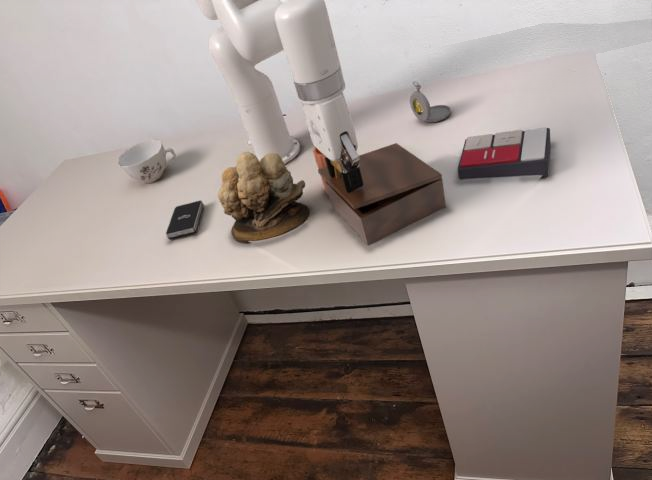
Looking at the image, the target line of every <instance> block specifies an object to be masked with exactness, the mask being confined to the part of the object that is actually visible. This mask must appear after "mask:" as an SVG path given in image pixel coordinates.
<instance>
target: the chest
mask: <svg viewBox="0 0 652 480" xmlns="http://www.w3.org/2000/svg"><path fill="white" fill-rule="evenodd" d="M325 184H326V187H327V191H328V193H327V194H328V198H329V200H330V203H331V206H332V208H333V209H334V211H335V212H336V213H337V214H338V215H339V216H340V217H341V218H342V219H343V220H344V222H346V224H347V225H348V226H349V227H350V228H351V229H352V230H353V231H354V233H356V235H357V236H358V237H359V238H360V239H361V240H362V241H363V242H364V243H365V244H366V245H367V246H371V245H373V244H375V243H377V242H379V241H381V240H383V239H385V238H387V237H388V236H392V234H394V233H397V232H399V231H401V230H403V229H405V228H407V227H410V226H411V225H413V224H415V223H417V222H419V221H421V220H423V219H425V218H428V217H429V216H431V215H433V214H435V213H437V212H439V211H441V210H443V209H445V208H446V207H447V204H446V203H447V202H446V198H445V189H444V181H443V177H442V178H441V179H438V180H436V181H433V182H430V183H427V184H424V185H422V186H419V187H416V188H413V189H410V190H407V191H405V192H402V193H399V194H396V195H393V196H391V197H388V198H385V199H382V200H379V201H377V202H374V203H371V204H368V205H365V206H362V207H360V208H357V209H353V208H352V207H351V206H350V205H349V204H348V203H347V201H346V200H345V199H344V198H343V197H342V196H341V195H340V194H339V193H338V192H337V191H336V190H335V189H334V188H333V187H332V186H331V185H330V184H329V183H328V182H327V181H325Z"/></svg>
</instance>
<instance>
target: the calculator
mask: <svg viewBox="0 0 652 480" xmlns="http://www.w3.org/2000/svg"><path fill="white" fill-rule="evenodd" d="M550 156H551V128H550V127H539V128H538V127H537V128H531V129H526V130H522V129H517V130H510V131H502V132H496V133H495V134H493V133H487V134H479V135H472V136H468V137H467V138H465V139H464V144H463V147H462V151H461V155H460V157H459V161H458V166H457V175H458V179H459V180H471V179H490V178H507V177H509V178H511V177H526V176H540V179H542V178H547V177H548V176H549V170H550V169H549V168H550V158H551V157H550Z"/></svg>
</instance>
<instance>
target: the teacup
mask: <svg viewBox="0 0 652 480" xmlns="http://www.w3.org/2000/svg"><path fill="white" fill-rule="evenodd" d="M167 153H170V154H172V158H171V159H170V160H169V161H168V162H167ZM175 160H176V153H175V150H174V149H173V148H172V147H166V148H164V145H163V143H162V142H161V141H159V140H158V139H148V140H144V141H141V142H138V143H137V144H135V145H133V146H132V147H130V148H128V149H126V150H125V151H124V152H123V153H122V154H120V156H119V157H118V160H117V161H118V162H117V163H118V166H119V167H120V168H121V170H122V171H123V172H124V173H126V175H128V176H129V177H130V178H132V179H134V180H135V181H138V182H141V183H144V184H152V183H154V182H156V181H158V180H159V179H161V178H162V176H163V174H164V172H165V169H166V168H167V167H169V166H170V165H171V164H174V162H175Z"/></svg>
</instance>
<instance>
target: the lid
mask: <svg viewBox="0 0 652 480" xmlns="http://www.w3.org/2000/svg"><path fill="white" fill-rule="evenodd" d="M358 156H359V158H360V160H359V166H360V167H359V168H360V172H361V176H362V180H363V186H362V187H360V188H358V189H356V190H354V191H352V192H350V193H347V192H346V190H345V186H344V183H343V179H342V176H341V174H340V172H343V171H342V169H341V166H340V164H339V162H338V159H337V161H332V160H330V163H331V164H332V165H333V166H334V169H335V176H334V177H331V176H330V175H329V171H328V168H327V167H324V168H321V169H318V168H317V173H318V174H319V176H320V175H321V176H322V177H323V178H324V179H325V180H326V181H327V182H328V183H329V184H330V185H331V186H332V187H333V188H334V189H335V190H336V191H337V192H338V193H339V194H340V195H341V196H342V197H343V198H344V199H345V200H346V201H347V203H348V204H349V205H350V206H351V207H352V208H353V209H357V208H360V207H362V206H365V205H368V204H371V203H374V202H377V201H379V200H382V199H385V198H388V197H391V196H393V195H396V194H399V193H402V192H405V191H407V190H410V189H413V188H416V187H419V186H422V185H424V184H427V183H430V182H433V181H436V180H438V179H441V178H442V179H443V174H442V173H440V172H439V171H438V170H436V169H435V168H433V167H432V166H431V165H429V164H427V163H426V162H425V161H423V160H422V159H421V158H419V157H417V155H414V154H413V153H412V152H410V151H409V150H407V149H406V148H405V147H403V146H402V145H400V144H399V143H397V142H395V143H392V144H389V145H386V146H383V147H380V148H377V149H374V150H371V151H369V152H365V153H363V154H360V155H359V154H358ZM347 161H349V160H345V161H344V163H345V164H346V162H347ZM321 176H320V177H321Z"/></svg>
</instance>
